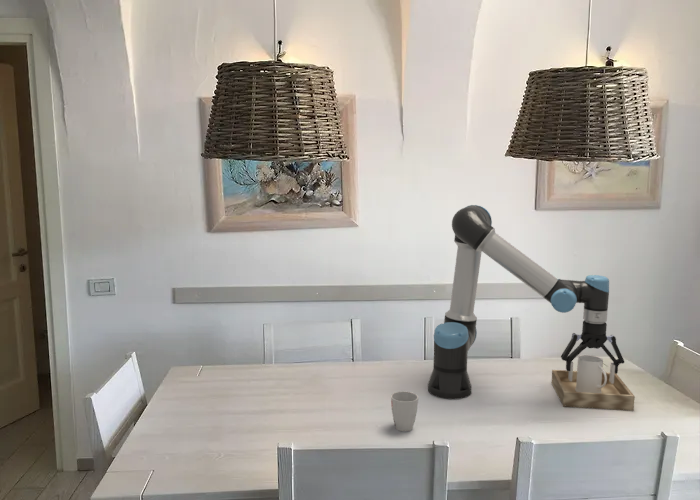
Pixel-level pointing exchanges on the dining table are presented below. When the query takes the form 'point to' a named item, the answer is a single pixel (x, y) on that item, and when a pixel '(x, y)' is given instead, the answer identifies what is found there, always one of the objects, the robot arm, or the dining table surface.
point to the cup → (404, 410)
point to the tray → (610, 397)
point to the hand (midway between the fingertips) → (590, 381)
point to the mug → (590, 374)
